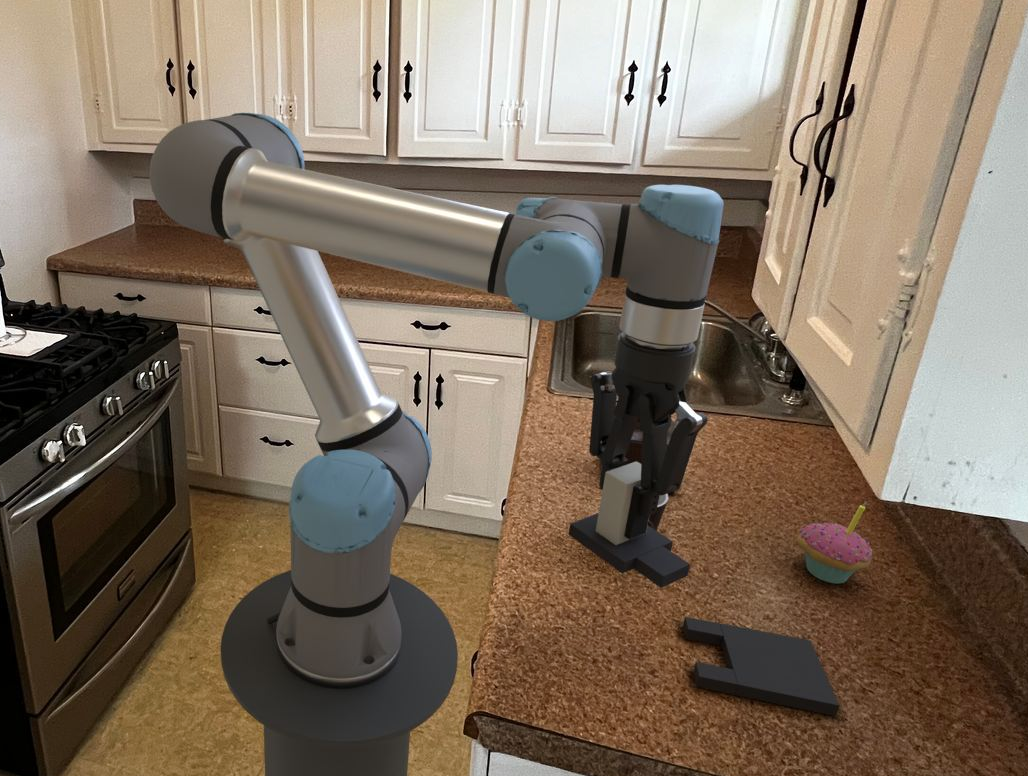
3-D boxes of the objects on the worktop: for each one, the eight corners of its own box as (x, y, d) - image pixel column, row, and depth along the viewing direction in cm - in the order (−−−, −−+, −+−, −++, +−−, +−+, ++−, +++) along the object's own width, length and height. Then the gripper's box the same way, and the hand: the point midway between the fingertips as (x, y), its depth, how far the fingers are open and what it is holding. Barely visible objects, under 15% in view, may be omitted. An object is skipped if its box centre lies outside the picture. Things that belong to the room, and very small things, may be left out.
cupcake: (845, 557, 107) (868, 486, 102) (875, 597, 99) (902, 522, 95) (780, 550, 108) (800, 479, 104) (806, 589, 100) (828, 514, 96)
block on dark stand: (568, 534, 88) (579, 464, 85) (615, 516, 92) (627, 448, 88) (649, 593, 79) (665, 517, 75) (698, 571, 82) (716, 497, 79)
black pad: (696, 687, 85) (699, 676, 84) (682, 626, 94) (684, 616, 93) (835, 716, 81) (839, 705, 81) (807, 650, 90) (810, 640, 90)
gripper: (752, 357, 72) (705, 555, 81) (620, 309, 86) (591, 483, 94) (702, 371, 69) (658, 576, 78) (573, 319, 82) (547, 499, 91)
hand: (621, 525), depth 86 cm, fingers closed on block on dark stand, 3 cm apart
